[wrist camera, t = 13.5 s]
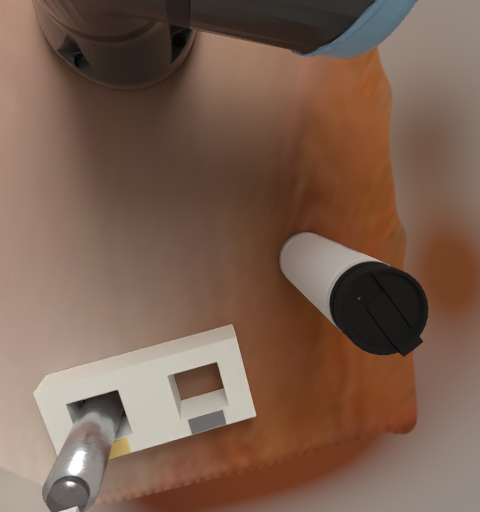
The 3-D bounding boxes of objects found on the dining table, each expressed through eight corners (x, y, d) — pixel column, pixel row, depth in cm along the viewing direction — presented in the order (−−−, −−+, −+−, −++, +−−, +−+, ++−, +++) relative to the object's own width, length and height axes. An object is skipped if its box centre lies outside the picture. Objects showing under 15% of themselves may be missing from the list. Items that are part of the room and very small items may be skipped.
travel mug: (299, 296, 46) (379, 378, 27) (267, 253, 45) (328, 309, 26) (340, 264, 46) (451, 324, 27) (310, 220, 45) (403, 251, 25)
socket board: (46, 374, 44) (32, 394, 40) (232, 323, 46) (236, 337, 42) (75, 450, 46) (64, 476, 42) (251, 399, 48) (257, 419, 44)
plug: (82, 388, 45) (30, 485, 31) (119, 378, 45) (85, 469, 31) (93, 420, 46) (49, 529, 32) (130, 410, 46) (102, 513, 32)
